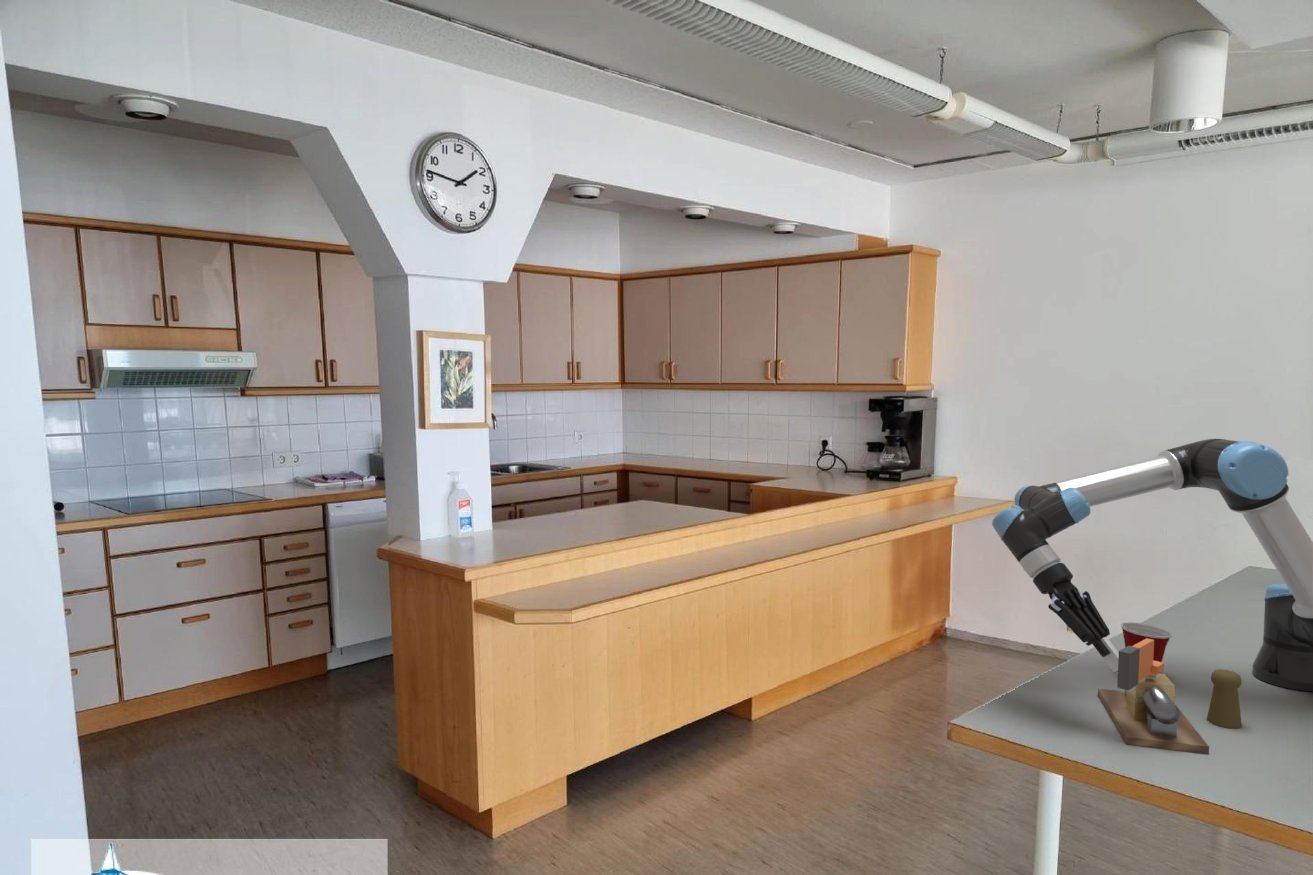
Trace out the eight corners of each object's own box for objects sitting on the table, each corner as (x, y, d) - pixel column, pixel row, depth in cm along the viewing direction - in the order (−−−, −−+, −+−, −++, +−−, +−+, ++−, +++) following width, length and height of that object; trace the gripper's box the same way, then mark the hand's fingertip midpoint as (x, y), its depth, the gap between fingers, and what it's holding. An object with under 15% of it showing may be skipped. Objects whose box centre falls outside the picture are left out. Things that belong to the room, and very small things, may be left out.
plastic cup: (1178, 686, 190) (1180, 635, 189) (1127, 682, 192) (1129, 633, 191) (1159, 669, 200) (1161, 622, 199) (1111, 666, 202) (1113, 619, 202)
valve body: (1151, 695, 180) (1153, 660, 180) (1186, 741, 157) (1188, 701, 157) (1116, 691, 182) (1117, 657, 182) (1145, 736, 160) (1147, 697, 159)
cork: (1242, 730, 166) (1245, 678, 165) (1207, 724, 169) (1209, 672, 168) (1240, 720, 171) (1243, 669, 170) (1206, 714, 174) (1208, 664, 173)
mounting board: (1168, 702, 180) (1168, 695, 180) (1208, 753, 156) (1209, 746, 155) (1097, 694, 184) (1098, 688, 184) (1126, 744, 160) (1126, 736, 160)
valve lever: (1144, 671, 172) (1146, 633, 171) (1163, 676, 169) (1165, 637, 168) (1112, 690, 161) (1114, 649, 161) (1132, 696, 159) (1134, 654, 158)
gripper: (1050, 575, 183) (1122, 670, 171) (1017, 583, 176) (1090, 683, 163) (1075, 557, 178) (1151, 654, 166) (1042, 565, 171) (1119, 666, 159)
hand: (1120, 668), depth 165 cm, fingers closed
